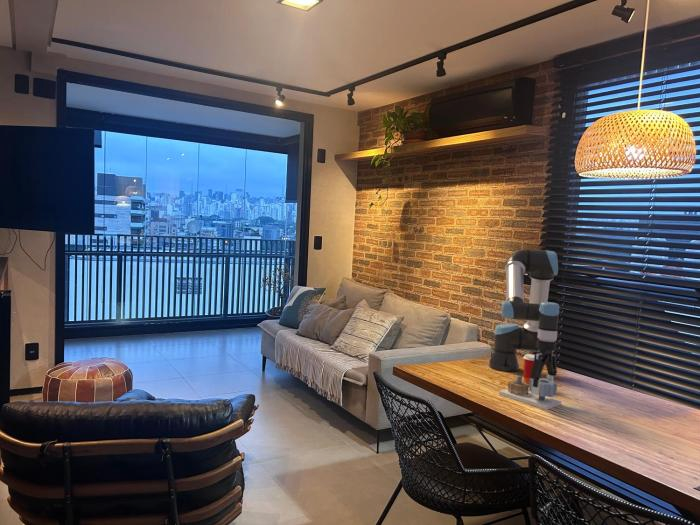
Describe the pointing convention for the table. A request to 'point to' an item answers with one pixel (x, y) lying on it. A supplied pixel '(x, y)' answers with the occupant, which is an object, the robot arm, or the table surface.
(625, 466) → the table surface
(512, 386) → the beech gear
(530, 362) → the paper cup
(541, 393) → the gray gear
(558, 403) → the gear board
